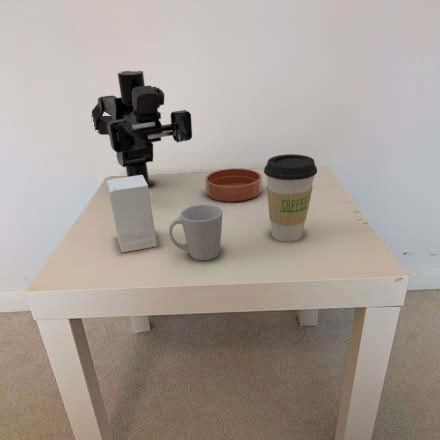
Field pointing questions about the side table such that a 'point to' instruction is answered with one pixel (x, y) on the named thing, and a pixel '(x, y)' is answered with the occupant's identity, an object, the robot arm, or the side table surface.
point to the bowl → (233, 184)
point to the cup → (200, 231)
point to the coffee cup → (289, 194)
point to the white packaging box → (132, 213)
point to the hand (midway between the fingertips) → (166, 140)
